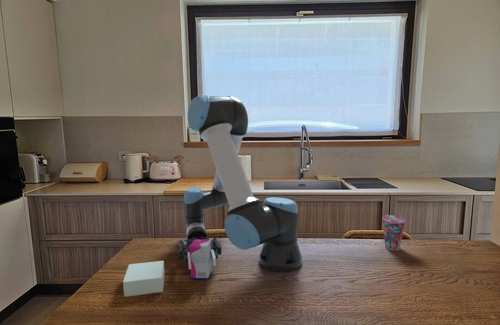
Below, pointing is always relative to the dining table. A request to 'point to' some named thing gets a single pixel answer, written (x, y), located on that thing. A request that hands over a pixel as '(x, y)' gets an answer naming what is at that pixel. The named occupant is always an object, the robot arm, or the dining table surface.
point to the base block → (144, 278)
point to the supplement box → (200, 259)
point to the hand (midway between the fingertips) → (202, 263)
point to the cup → (393, 231)
